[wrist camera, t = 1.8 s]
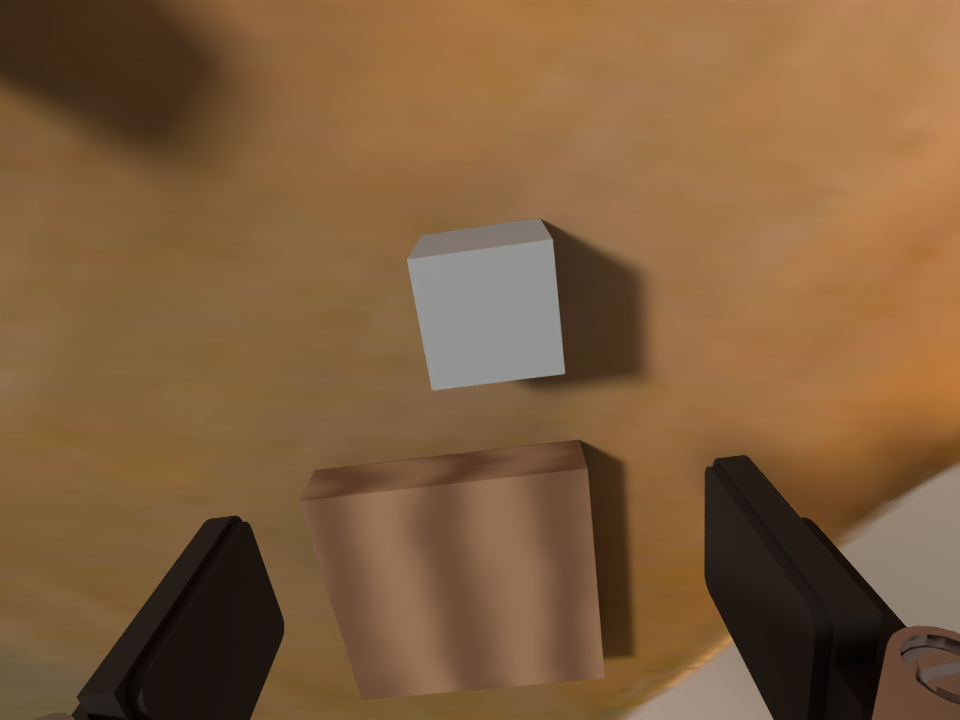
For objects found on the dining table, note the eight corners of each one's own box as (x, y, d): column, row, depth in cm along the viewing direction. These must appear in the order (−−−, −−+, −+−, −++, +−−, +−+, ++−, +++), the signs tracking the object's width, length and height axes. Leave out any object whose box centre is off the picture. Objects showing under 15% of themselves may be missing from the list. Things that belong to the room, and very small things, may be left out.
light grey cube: (539, 218, 28) (552, 239, 23) (550, 329, 30) (565, 373, 25) (422, 234, 28) (407, 259, 23) (442, 343, 31) (432, 390, 25)
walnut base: (579, 439, 33) (587, 468, 30) (596, 639, 39) (604, 678, 36) (314, 470, 34) (299, 501, 31) (370, 660, 40) (362, 699, 37)
